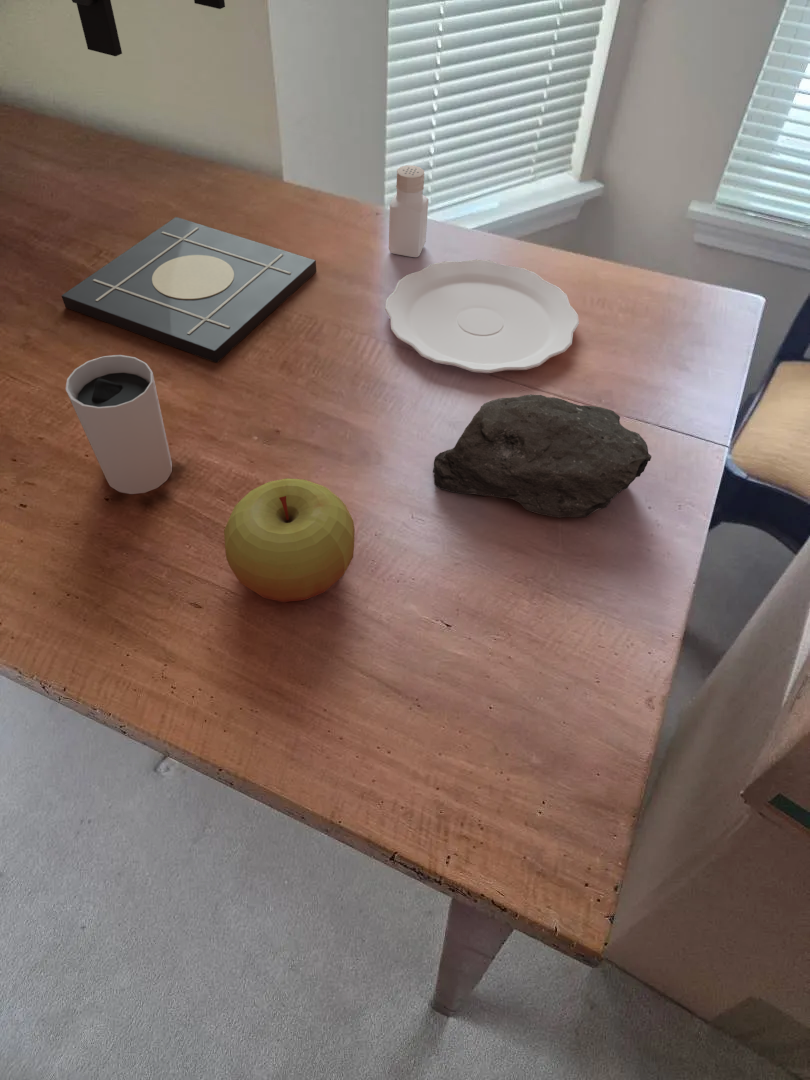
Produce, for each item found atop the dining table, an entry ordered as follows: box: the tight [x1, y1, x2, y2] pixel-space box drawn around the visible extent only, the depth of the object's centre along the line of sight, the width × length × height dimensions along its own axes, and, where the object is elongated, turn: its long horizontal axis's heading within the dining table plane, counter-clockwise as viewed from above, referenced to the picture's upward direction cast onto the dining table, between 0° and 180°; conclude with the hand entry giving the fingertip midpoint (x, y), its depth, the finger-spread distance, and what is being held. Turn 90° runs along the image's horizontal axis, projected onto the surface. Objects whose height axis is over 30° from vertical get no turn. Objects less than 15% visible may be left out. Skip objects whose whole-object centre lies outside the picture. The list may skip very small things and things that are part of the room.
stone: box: [432, 394, 652, 518], centre depth 65 cm, size 18×9×10 cm
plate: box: [384, 259, 580, 374], centre depth 83 cm, size 21×21×2 cm
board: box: [61, 216, 317, 364], centre depth 85 cm, size 20×20×2 cm
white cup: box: [65, 354, 173, 495], centre depth 63 cm, size 7×7×10 cm
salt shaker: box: [388, 164, 429, 258], centre depth 89 cm, size 4×4×10 cm
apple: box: [223, 478, 356, 603], centre depth 57 cm, size 10×10×8 cm
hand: (160, 27), depth 62 cm, fingers open, 13 cm apart
